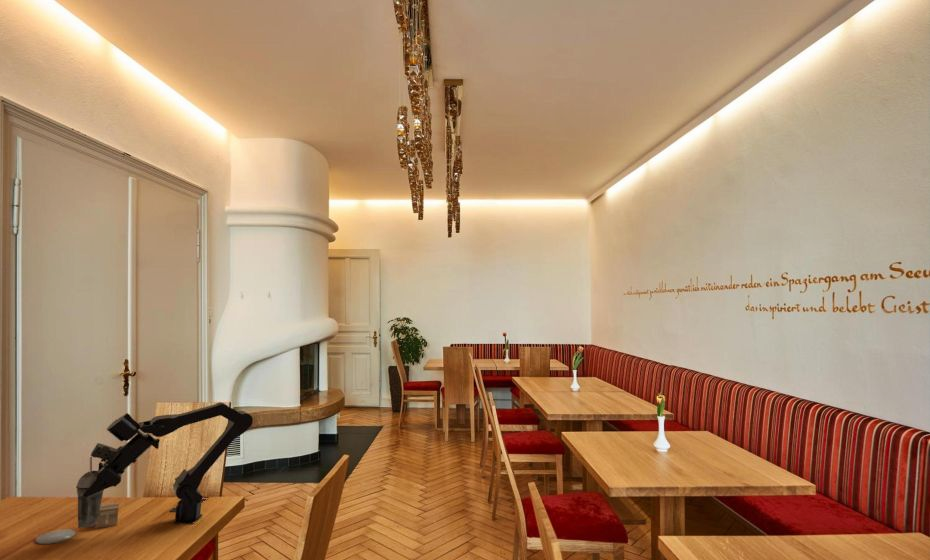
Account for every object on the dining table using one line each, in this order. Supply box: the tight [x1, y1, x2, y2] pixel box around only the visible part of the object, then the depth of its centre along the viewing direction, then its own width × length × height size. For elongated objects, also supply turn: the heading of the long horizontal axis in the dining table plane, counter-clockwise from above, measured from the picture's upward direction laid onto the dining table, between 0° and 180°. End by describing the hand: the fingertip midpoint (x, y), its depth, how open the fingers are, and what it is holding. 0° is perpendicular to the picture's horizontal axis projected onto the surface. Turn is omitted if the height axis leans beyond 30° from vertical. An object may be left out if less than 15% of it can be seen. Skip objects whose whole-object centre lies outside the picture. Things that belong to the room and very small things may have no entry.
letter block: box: [95, 501, 120, 529], centre depth 159 cm, size 6×6×6 cm
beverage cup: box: [75, 456, 105, 529], centre depth 150 cm, size 7×7×20 cm
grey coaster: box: [35, 528, 76, 545], centre depth 148 cm, size 9×9×1 cm
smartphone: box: [169, 495, 210, 513], centre depth 178 cm, size 7×1×15 cm
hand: (84, 492), depth 149 cm, fingers closed on beverage cup, 7 cm apart
